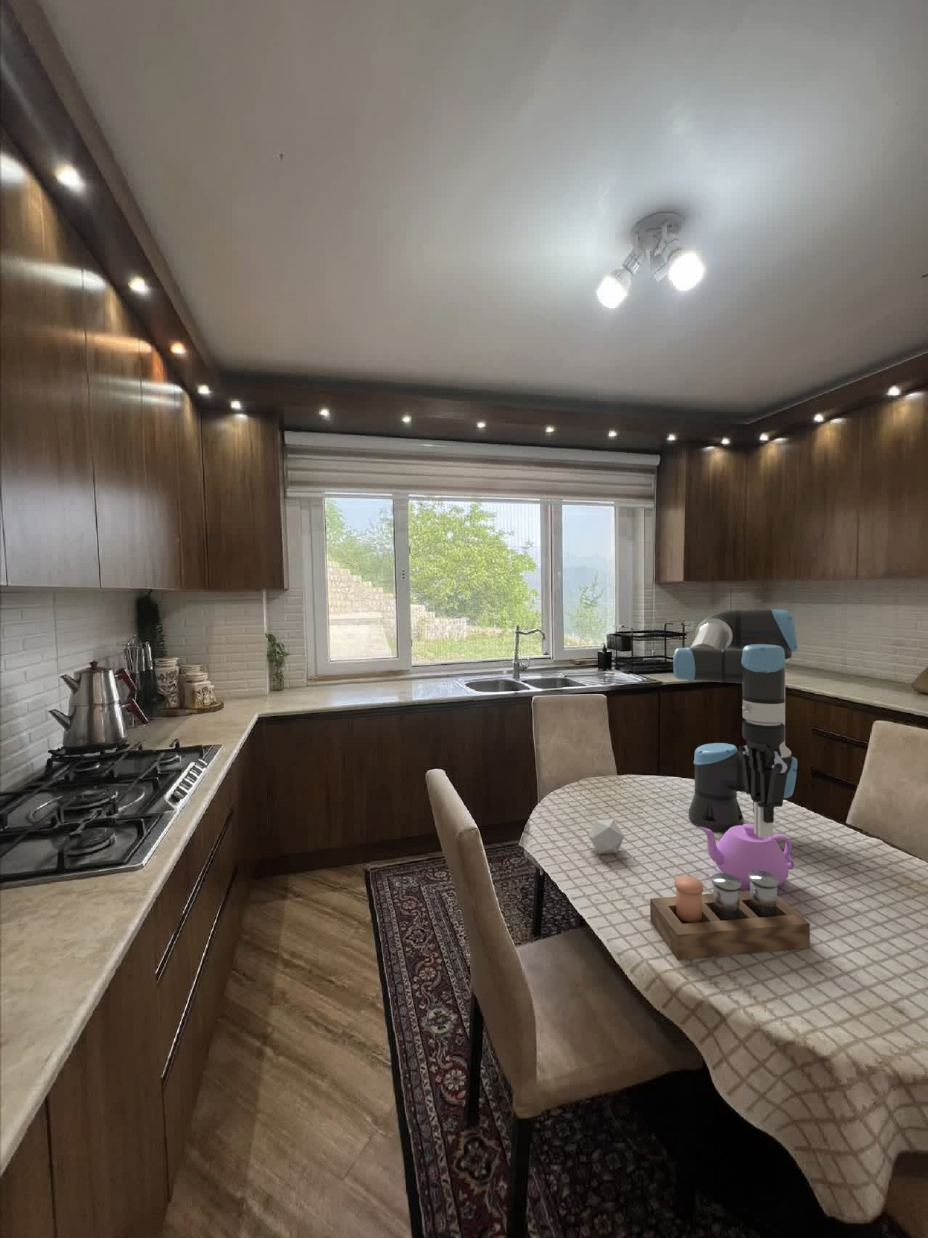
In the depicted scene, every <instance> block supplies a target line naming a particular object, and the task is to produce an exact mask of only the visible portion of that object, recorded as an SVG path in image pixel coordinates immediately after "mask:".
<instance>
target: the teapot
mask: <svg viewBox="0 0 928 1238" xmlns="http://www.w3.org/2000/svg"><path fill="white" fill-rule="evenodd" d="M699 828H700V829H701V830H702V831H703V832H704V833H705V836H706V844H707V845H706V847H707V853H708V855H709V857H710V859H711V860H712V861H713V862H714V863H715V865H716V866H717V868H718V869H719V870H720V871H721V872H720V873H725V874H730V875H732V876H735V877H737V878H738V879H739V880H740V881H741V889H740V891H750V881H749V878H748V874H749V872H751V871H755V870H759V871H765V872H768V873H771V874H773V875H775V876H776V877H777V878H778V880H779V885H778V887H779V886H780V885H782V884H784V882H785V881H786V880H788V877H789V870H792V869H794V867H795V861H794V859H792V858H791V857H790V854H791V851H792V842H791V841H790V839H789V838H788V837H787V836H786V835H783V834H781V833H775V834H774V833H773V837H759V836H758V834H755V833H754V823H748V822H747V823H744V824H743V825H739V826H733V827H731V828H730V829H729V830H728V831H727V832H724V834H723V835H722V837H721V838H720V840H719V841H718V843H716V837H715V833H714V831H713V830H710V829H707V828H704V827H700V826H699ZM778 840H781V841H782V840H783V841H784V843H785V844H784V845H785V847H784V850H782V848H781V847H780V845H779V844H778V842H777V841H778ZM788 862H789V863H788ZM778 887H777V893H779V891H780V889H779V888H778Z"/></svg>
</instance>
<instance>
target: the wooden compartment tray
mask: <svg viewBox="0 0 928 1238" xmlns="http://www.w3.org/2000/svg"><path fill="white" fill-rule="evenodd" d="M649 907H650V908H649V909H650V911H649V912H650V915H649V916H650V920H649V922H650V923H651V924H652V925H653V927H654V929H655V930H656V932H658V934H659V936H660V937H661V939H663V941H664V943H665V944H666V945H667V947H668V948H669V950H670V951H671V952H672V954H673V955H674V957H675V958H676V959H677V961H680V960H681V961H682V960H692V959H705V958H715V957H724V956H725V957H726V956H735V955H737V956H738V955H748V954H759V953H760V954H761V953H771V952H781V951H783V952H784V951H792V950H793V951H794V950H803V949H804V950H805V949H811V932H810V931H811V923H810V922H809V921H808V920H807V919H805V918H804V917H803V916H802V915H800V913H798V912H797V911H796V910H795V909H794V908H792V907H791V906H790V905H789V904H788V903H786V902H785V901H784V900H783V899H782V898H780V897H779V896H778V895H777V914H776V915H775V916H770V917H769V916H763V915H760V914H757V913H755V912H754V911H753V910H752V909H751V908H750V890H749V891H740V916H739V918H738V919H734V920H729V919H725V918H722V917H720V916H718V915H717V914H715V912H714V909H713V893H705V894H703V893H702V920H701V921H700V922H697V923H690V922H686V921H683V920H682V919H680V918H679V917H678V916H677V914H676V896H665V897H655V898H652V897H651V898H649Z"/></svg>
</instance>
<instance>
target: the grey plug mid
mask: <svg viewBox="0 0 928 1238" xmlns="http://www.w3.org/2000/svg"><path fill="white" fill-rule="evenodd" d="M711 884H712V886H713V887H712V888H713V891H712V894H713V909H714V912H715V914H717V915H718V916H720V917H722V918H725V919H729V920H734V919H738V918H739V916H740V889H741V881H740V880H739V879H738V878H737V877H735V876H732V875H730V874H725V873H722V872H720V873H719V872H718V873H714V874H712V876H711Z"/></svg>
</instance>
